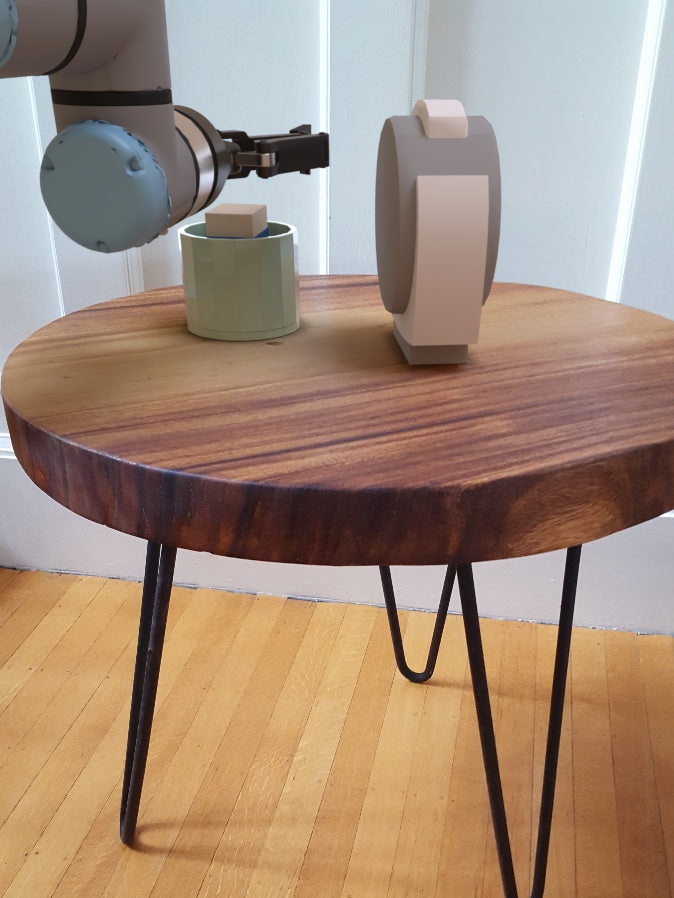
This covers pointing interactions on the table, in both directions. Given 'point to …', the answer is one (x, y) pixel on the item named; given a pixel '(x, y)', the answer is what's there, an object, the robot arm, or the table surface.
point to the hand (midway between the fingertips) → (235, 139)
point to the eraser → (237, 221)
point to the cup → (240, 283)
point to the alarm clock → (437, 227)
